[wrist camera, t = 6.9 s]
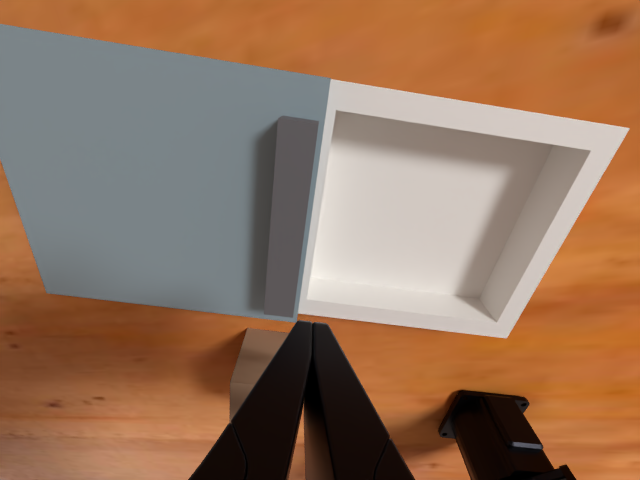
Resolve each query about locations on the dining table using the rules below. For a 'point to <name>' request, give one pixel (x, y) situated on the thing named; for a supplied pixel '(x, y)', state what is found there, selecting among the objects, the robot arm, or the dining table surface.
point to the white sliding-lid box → (442, 207)
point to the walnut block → (252, 363)
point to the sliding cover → (160, 172)
